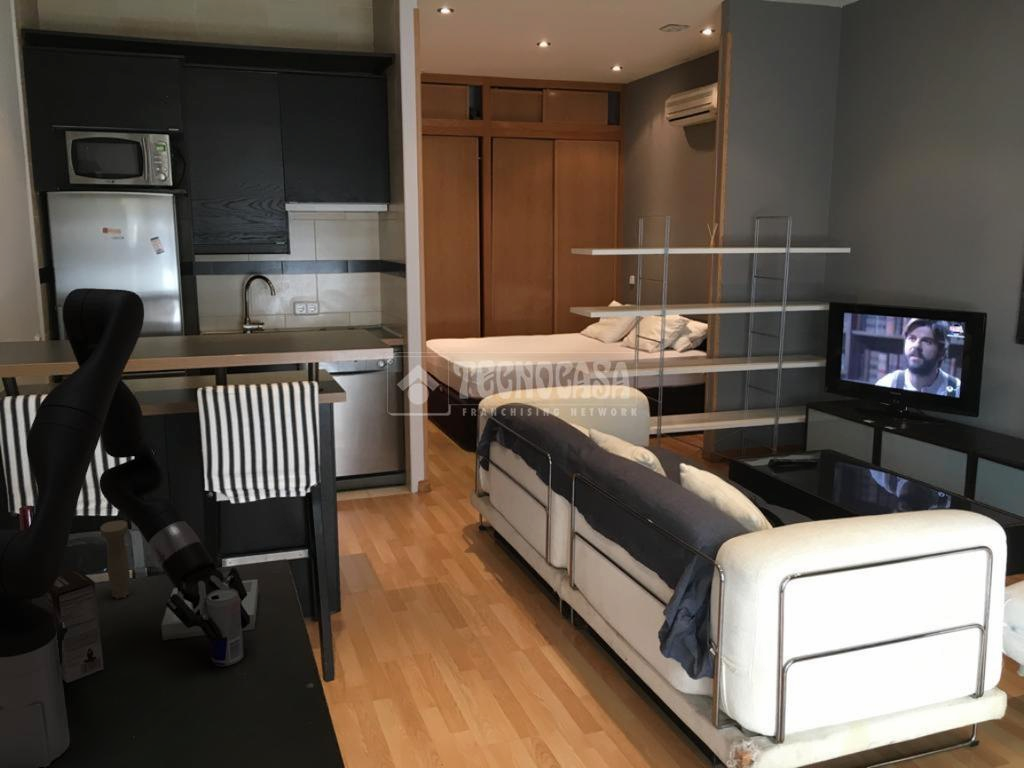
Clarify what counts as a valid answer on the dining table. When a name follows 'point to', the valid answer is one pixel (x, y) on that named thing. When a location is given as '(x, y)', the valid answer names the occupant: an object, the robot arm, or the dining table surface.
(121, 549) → the handle
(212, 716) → the dining table surface
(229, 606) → the energy drink
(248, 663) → the dining table surface
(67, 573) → the coffee box
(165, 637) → the tray
